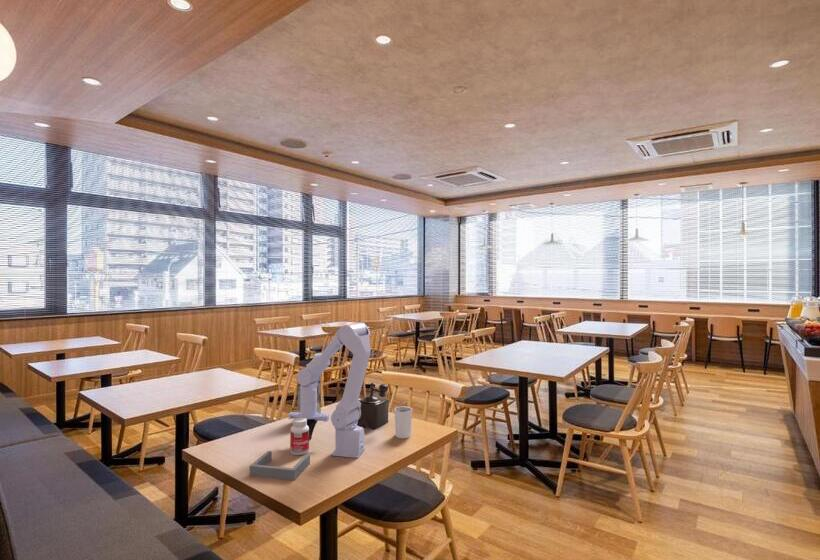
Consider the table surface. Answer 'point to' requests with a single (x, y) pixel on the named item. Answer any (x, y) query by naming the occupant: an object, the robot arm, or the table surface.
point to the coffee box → (317, 397)
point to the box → (277, 468)
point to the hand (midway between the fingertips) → (308, 439)
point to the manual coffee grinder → (374, 409)
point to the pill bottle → (299, 437)
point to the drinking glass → (403, 422)
